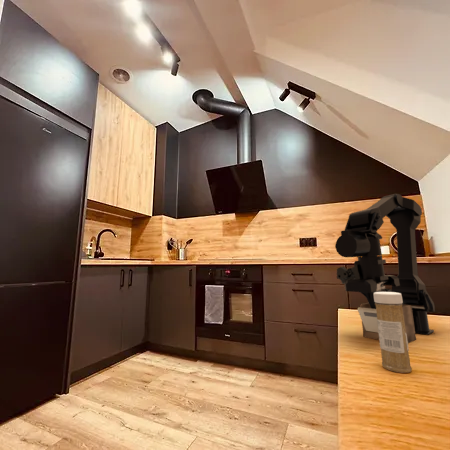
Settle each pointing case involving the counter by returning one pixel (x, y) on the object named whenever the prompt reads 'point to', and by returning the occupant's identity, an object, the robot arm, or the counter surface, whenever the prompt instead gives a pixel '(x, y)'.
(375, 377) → the counter surface
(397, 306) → the sprinkles bottle
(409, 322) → the open wooden box
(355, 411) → the counter surface
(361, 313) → the cabinet door
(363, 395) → the counter surface
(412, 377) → the counter surface
